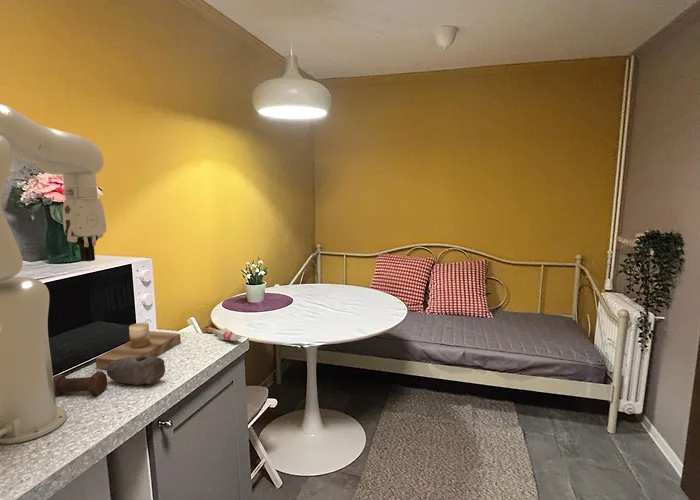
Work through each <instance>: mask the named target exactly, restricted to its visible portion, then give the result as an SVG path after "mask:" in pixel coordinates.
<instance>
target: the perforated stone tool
mask: <svg viewBox="0 0 700 500" xmlns="http://www.w3.org/2000/svg"><path fill="white" fill-rule="evenodd" d="M165 373H166V365H165V360H164V359H163V358H161V357H159V356H157V357H148V356H138V357H127V358H121V359H117V360H115V361H113V362H111V363H110V364H109V365H108V368H107V370H106V376H107V377H108V379H109V378H110V379H111V381H113V382H116V383H120V384H123V383H124V384H126V385H134V386H139V385H140V386H141V385H143V384H144V385H145V384H147V385H153V384H154V383H156V382H159V381H160V380H161V379H162V378H163V377H164V375H165Z"/></svg>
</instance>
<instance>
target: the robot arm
mask: <svg viewBox="0 0 700 500" xmlns="http://www.w3.org/2000/svg"><path fill="white" fill-rule="evenodd" d="M13 157H14V158H16V159H18V160H21V161H24V162H26V163H27V162H28V163H33V164H36V166H37V167H38V169H40V170H41V171H42V172H43V173H46V174H49V175H57V176H58V175H62V180H63V187H64V188H63V190H62V192H61V193H62V195H63V196H64V197H65V199H64V200H63V207H62V225H63V231H64V234H65V235H66V241H67V242H71V243H74V244H76V246H77V247H78V248H79V253H80V260H81V262H94V261H96V257H95V256H96V255H95V254H96V253H95V246H96V245H97V241H98V240H99V239H101V238H103V237H104V234H105V233H107V222H106V221H107V220H106V216H105V212H104V211H105V210H104V206H103V203H102V201H101V199H100V198H99V196H98V195H99V194H98V187H97V185H98V184H97V176H96V174H98V173H100V172H101V171H102V169H103V167H104V157H103V153H102V152H101V150H100V148H99V147H98V146H97V145H96V144H95V143H93V141H91V140H89V139H87V138H86V137H84V136H81V135H78V134H75V133H71V132H67V131H63V130H59V129H56V128H52V127H47V126H44V125H40V124H39V123H37V122H36V121H34V120H33V119H30V117H28V116H26V115H24V114H23V113H21V112H19V111H17V110H16V109H14V108H12V107H10V106H9V105H5V104H2V103H0V444H4V445H5V444H19V443H22V442H28V441H31V440H34V439H37V438H40V437H43V436H45V435H47V434H49V433H51V432H53V431H54V430H56V429H58V428H59V427H60V426H61V425H63V423H64V422H65V421H66V420H67V411H66V409H65V408H63V407H61V406H57V401H56V396H55V389H54V381H53V377H54V375H53V374H54V373H53V367H52V366H53V365H52V358H51V357H52V356H51V350H50V342H49V341H50V340H49V329H48V328H49V326H48V321H49V320H48V319H49V309H50V291H49V289H48V287H47V285H46V284H45V283H44V282H43V281H42V280H39V279H37V278H34V277H27V276H17V275H19V273H20V272H21V271H22V269H23V264H24V261H23V260H24V259H23V257H22V253H21V250H20V247H19V245H18V243H17V241H16V239H15V236H14V234H13V231H12V229H11V227H10V226H9V223H8V221H7V218H6V216H5V213H4V210H3V208H2V207H3V206H2V197H3V193H4V188H5V184H6V182H7V179H8V176H9V173H10V169H12V168H11V167H12V164H13Z"/></svg>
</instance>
